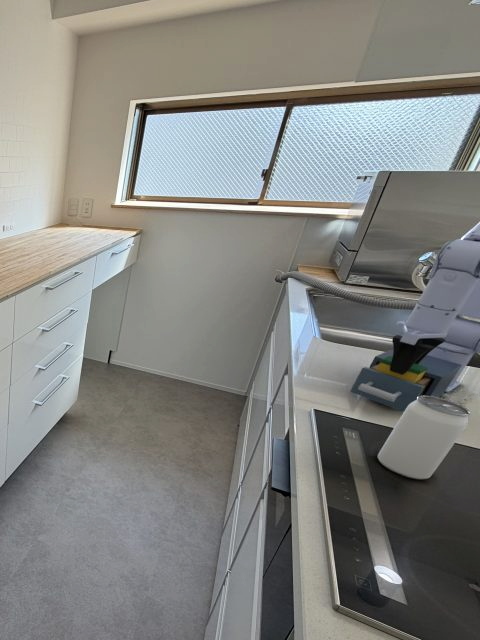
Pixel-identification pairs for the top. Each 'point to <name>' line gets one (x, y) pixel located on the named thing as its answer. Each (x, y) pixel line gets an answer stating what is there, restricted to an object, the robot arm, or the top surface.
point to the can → (423, 437)
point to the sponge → (411, 375)
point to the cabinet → (431, 372)
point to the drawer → (389, 388)
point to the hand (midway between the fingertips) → (401, 370)
